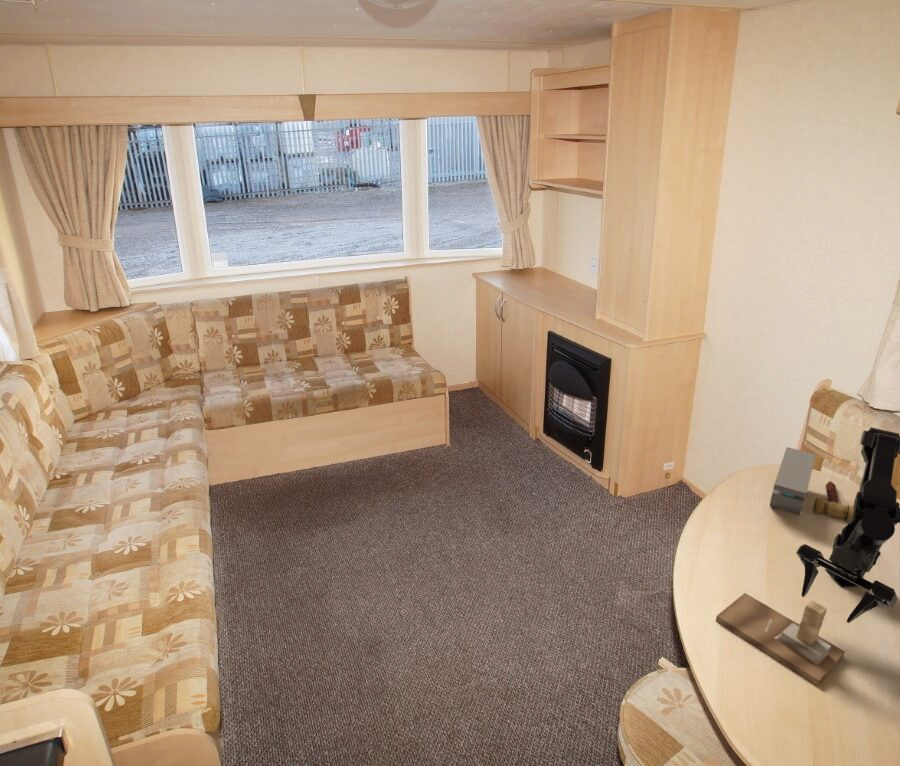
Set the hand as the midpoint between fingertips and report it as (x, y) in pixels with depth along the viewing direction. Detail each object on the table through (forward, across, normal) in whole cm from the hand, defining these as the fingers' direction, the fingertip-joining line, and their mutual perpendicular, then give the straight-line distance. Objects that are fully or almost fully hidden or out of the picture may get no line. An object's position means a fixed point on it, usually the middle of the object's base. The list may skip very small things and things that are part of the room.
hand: (824, 609), depth 135 cm
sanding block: (+9, 0, +1) cm, 9 cm away
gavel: (-35, -23, +49) cm, 64 cm away
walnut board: (+10, -5, +2) cm, 12 cm away
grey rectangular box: (-27, -30, +41) cm, 58 cm away
